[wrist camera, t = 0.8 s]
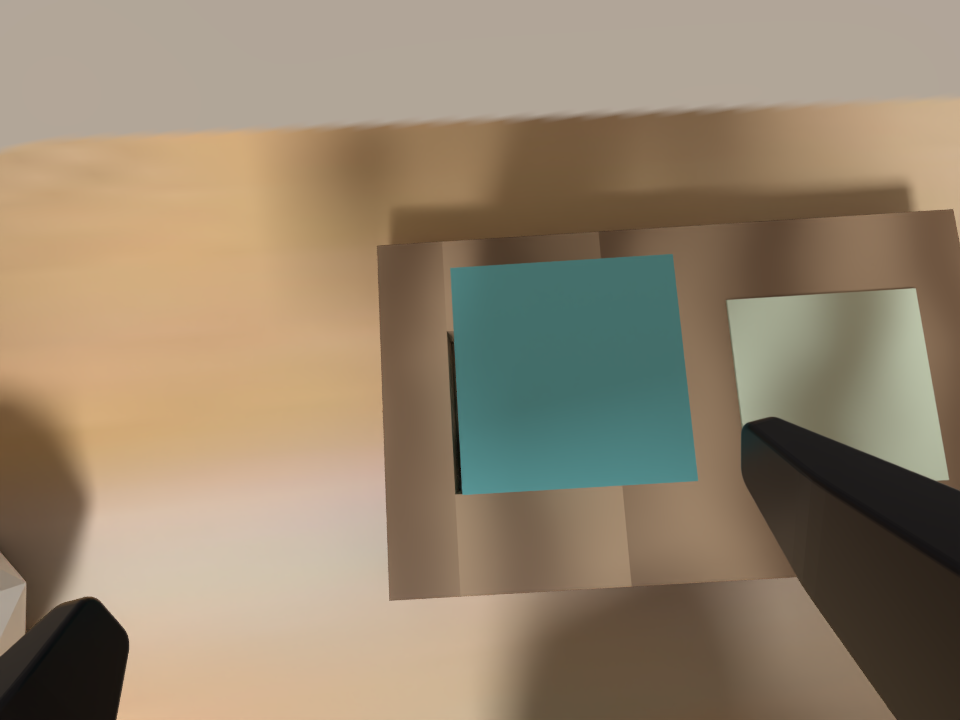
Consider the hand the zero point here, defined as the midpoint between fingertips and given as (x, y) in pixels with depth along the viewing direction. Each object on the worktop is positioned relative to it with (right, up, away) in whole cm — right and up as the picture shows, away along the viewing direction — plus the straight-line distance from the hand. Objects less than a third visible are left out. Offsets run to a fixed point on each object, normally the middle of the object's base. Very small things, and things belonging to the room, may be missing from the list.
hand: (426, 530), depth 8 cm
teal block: (+3, 0, +16) cm, 16 cm away
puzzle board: (+8, +1, +16) cm, 18 cm away
